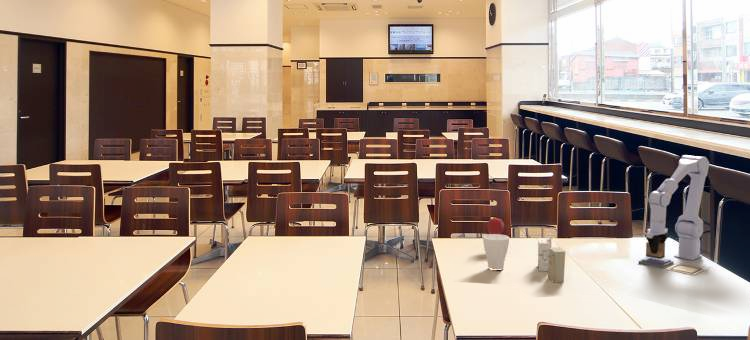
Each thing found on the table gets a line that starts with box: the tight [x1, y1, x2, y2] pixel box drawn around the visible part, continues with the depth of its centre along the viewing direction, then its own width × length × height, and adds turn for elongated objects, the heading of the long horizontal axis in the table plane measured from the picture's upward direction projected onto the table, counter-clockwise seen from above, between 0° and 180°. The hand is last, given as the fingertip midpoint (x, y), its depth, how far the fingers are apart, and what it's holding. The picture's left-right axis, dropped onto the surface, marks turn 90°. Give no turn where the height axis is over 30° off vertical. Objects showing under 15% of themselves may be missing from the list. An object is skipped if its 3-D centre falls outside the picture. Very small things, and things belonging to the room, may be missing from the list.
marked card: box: [665, 263, 706, 276], centre depth 249 cm, size 11×11×1 cm
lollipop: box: [486, 217, 505, 235], centre depth 281 cm, size 8×8×15 cm
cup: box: [482, 233, 510, 270], centre depth 251 cm, size 10×10×14 cm
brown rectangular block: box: [645, 241, 666, 259], centre depth 257 cm, size 4×6×6 cm, turn 41°
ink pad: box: [638, 256, 674, 269], centre depth 257 cm, size 10×10×2 cm
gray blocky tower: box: [537, 231, 552, 272], centre depth 251 cm, size 9×5×15 cm, turn 168°
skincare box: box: [547, 247, 566, 283], centre depth 236 cm, size 6×4×12 cm
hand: (656, 252), depth 257 cm, fingers closed on brown rectangular block, 4 cm apart
